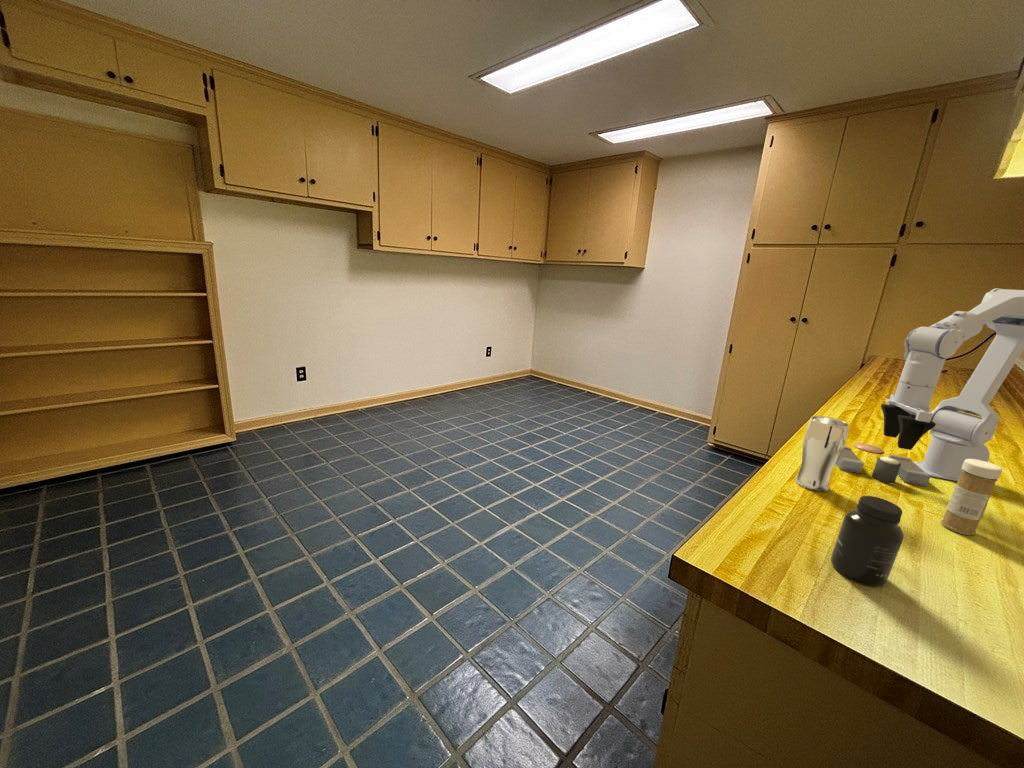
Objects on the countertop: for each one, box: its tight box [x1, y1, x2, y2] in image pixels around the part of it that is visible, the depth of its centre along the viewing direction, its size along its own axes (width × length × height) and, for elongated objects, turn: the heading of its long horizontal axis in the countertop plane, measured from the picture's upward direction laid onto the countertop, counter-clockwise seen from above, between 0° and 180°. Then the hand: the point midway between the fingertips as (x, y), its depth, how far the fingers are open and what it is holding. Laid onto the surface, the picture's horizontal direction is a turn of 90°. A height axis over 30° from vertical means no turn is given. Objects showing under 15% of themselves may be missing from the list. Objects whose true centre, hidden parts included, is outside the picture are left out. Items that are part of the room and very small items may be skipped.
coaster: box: [853, 442, 883, 454], centre depth 112 cm, size 6×6×1 cm
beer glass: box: [794, 415, 850, 493], centre depth 88 cm, size 7×7×15 cm
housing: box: [835, 446, 932, 488], centre depth 99 cm, size 16×10×3 cm, turn 67°
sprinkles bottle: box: [940, 459, 1003, 536], centre depth 74 cm, size 5×5×13 cm
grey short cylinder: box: [871, 456, 901, 484], centre depth 94 cm, size 4×4×5 cm
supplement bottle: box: [830, 495, 905, 587], centre depth 61 cm, size 7×7×12 cm
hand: (896, 442), depth 91 cm, fingers open, 7 cm apart
